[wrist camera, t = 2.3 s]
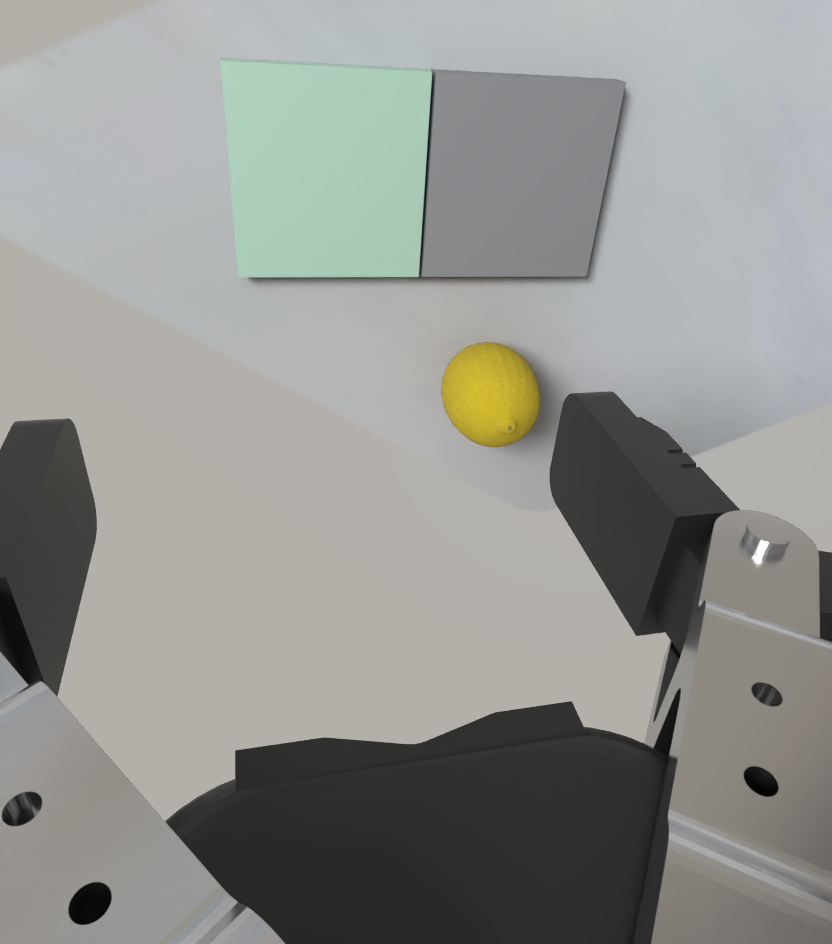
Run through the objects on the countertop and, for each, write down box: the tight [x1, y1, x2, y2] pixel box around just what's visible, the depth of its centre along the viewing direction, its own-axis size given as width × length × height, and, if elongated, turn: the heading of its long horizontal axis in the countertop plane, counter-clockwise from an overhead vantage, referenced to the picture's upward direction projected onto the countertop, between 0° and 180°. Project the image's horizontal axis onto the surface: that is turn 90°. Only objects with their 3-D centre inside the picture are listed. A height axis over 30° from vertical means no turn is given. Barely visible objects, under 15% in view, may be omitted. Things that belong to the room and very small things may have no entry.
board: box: [220, 58, 626, 277], centre depth 37 cm, size 20×10×1 cm, turn 86°
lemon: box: [441, 342, 540, 447], centre depth 41 cm, size 6×6×8 cm
